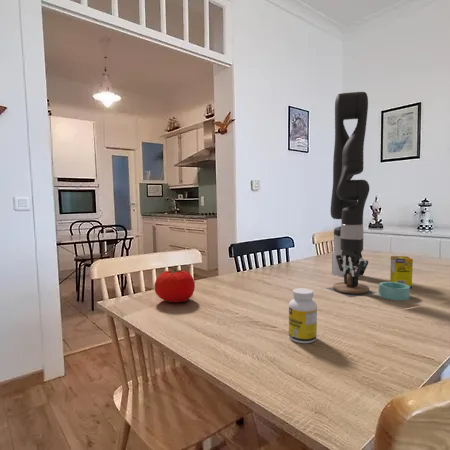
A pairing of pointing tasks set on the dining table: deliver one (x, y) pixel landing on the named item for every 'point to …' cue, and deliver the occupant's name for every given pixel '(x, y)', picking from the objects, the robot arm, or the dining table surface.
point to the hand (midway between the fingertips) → (350, 285)
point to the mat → (350, 293)
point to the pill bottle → (302, 316)
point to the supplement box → (401, 270)
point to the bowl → (394, 291)
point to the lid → (350, 287)
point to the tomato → (174, 285)
